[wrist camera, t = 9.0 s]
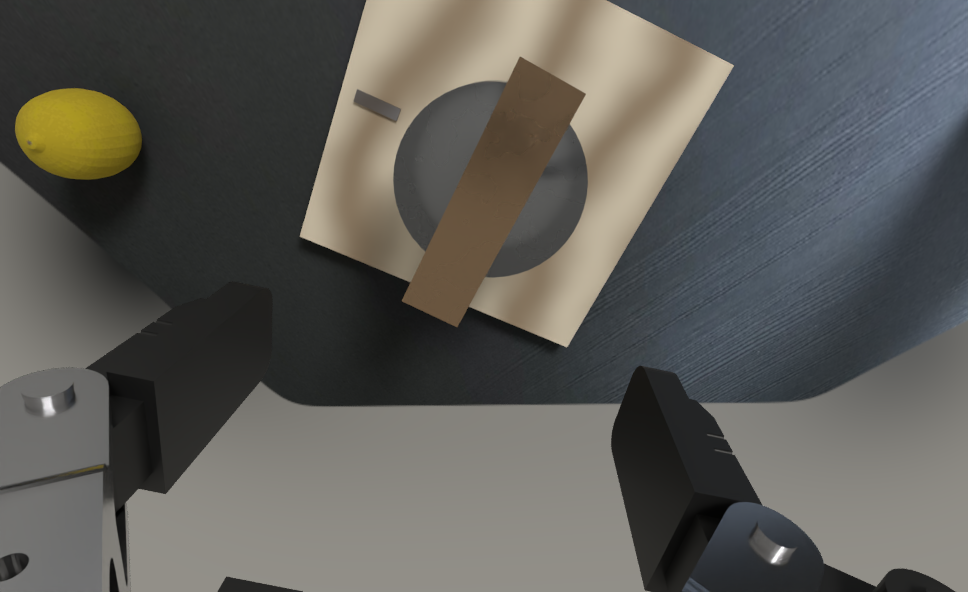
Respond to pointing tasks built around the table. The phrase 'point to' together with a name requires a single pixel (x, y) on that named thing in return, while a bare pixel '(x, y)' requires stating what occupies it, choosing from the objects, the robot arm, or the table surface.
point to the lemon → (78, 134)
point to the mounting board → (492, 56)
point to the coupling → (489, 184)
